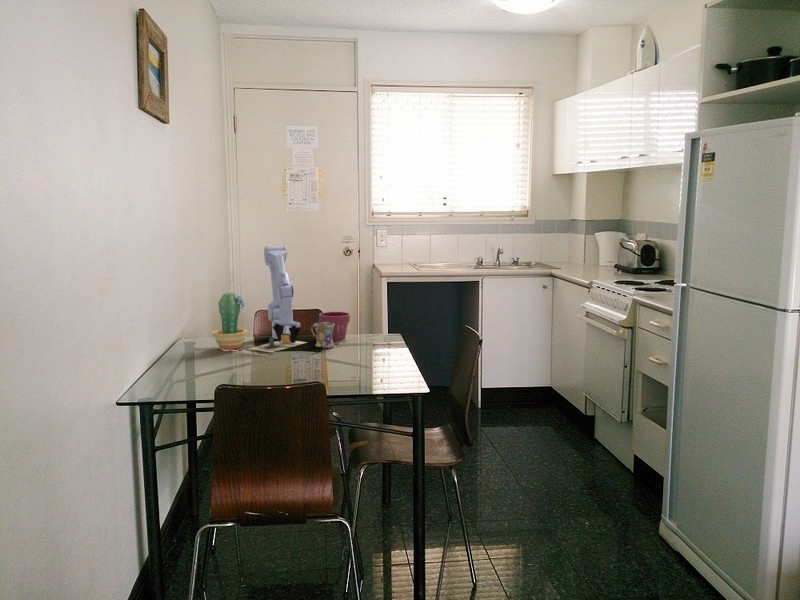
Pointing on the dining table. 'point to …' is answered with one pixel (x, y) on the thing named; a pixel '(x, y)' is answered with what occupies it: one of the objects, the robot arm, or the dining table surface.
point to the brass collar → (286, 338)
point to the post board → (274, 346)
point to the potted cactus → (230, 322)
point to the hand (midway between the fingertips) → (287, 341)
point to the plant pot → (336, 323)
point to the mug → (324, 334)
